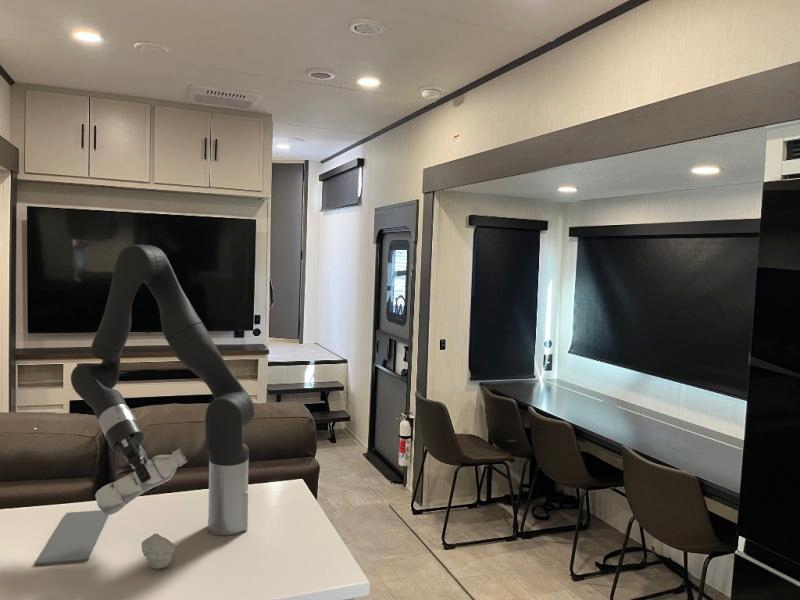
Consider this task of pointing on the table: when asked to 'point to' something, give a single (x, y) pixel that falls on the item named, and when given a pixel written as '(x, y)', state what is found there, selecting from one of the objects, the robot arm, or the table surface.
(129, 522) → the table surface
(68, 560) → the charcoal rubber mat
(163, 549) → the grey cupcake
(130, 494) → the plastic bottle
